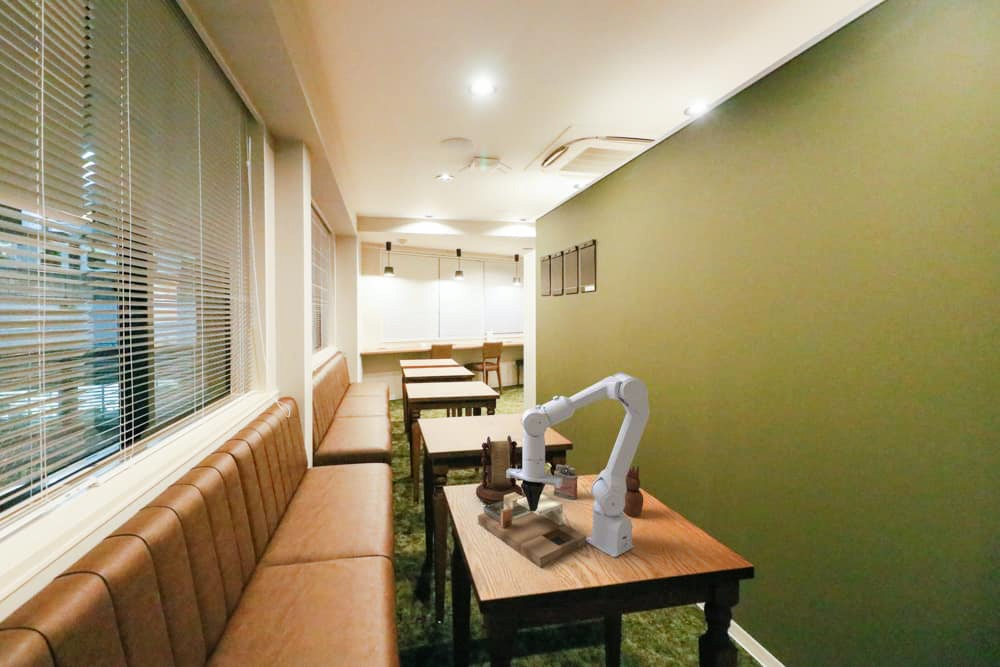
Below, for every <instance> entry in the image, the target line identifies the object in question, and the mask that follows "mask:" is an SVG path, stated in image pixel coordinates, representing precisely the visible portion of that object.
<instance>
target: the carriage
mask: <svg viewBox="0 0 1000 667" xmlns="http://www.w3.org/2000/svg"><path fill="white" fill-rule="evenodd" d="M501 507H504V500H502V501H499V502H496V503H491V504H488V505H485V506H483V513H486V514H488V515H489V516H491V517H492V518H494V519H495V520H497V521H498V522H500V523H501V527H506V526H509V525H511V524H512V515H515V514H517V513H520V512H523V511H525V510H526V508H525V507H523V506H522V505H520V506H518V507H515V508H512V509H510V508H509V509H506V510H503V511H501V513H497V512H496V511H494V510H495V509H498V508H501Z"/></svg>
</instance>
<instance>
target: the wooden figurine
mask: <svg viewBox="0 0 1000 667" xmlns="http://www.w3.org/2000/svg"><path fill="white" fill-rule="evenodd" d="M639 473H640V466H639V465H637V467H636V469H635V466H634V465H633V466H632V468H629V471H628V474H627V476H626V488H627V492H626V494H625V508H624V510H623V511H622V512H623V514H624V515H627V516H629V517H631V518H632V517H638V516H640V515H641V513H642V511H643V507H644V495H643V493H642V492H641V490H640V487H641V479H640V478H639V476H640V474H639Z"/></svg>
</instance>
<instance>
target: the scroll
mask: <svg viewBox="0 0 1000 667" xmlns="http://www.w3.org/2000/svg"><path fill="white" fill-rule="evenodd" d="M490 437H491V436H488V437H487V439H486V442H483V443H481V448H482V455H481V456H482V458H481V464H482V467H481V468H482V472H481V479H482V482H481V483H480V484H479V485H477V487H476V489H475V494H476V497H477V498H478V499H479V500H481V501H483V502H485V503H484V504H485V506H487V505H490V504H489V503H491V504H493V503H496V502H499V501H502V500H504V495H508V494H511V493H514V492H515V493H517V494H519V495H521V496H522V497H523V490H522V488H521V485H519V484H517V479H516V478H507V474H506V471H507V470H508V469H509V468H512V469H517V466H516V464H517V461H518V457H517V451H516V449H517V446H518V443H517V441H515V440H513V441H512V437H511V435H508V436H507V440H494V441H491V438H490ZM488 455H489V456H490V458H489V457H488ZM488 463H491V465H490V464H488ZM511 464H512V465H511Z"/></svg>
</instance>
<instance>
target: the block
mask: <svg viewBox="0 0 1000 667" xmlns="http://www.w3.org/2000/svg"><path fill="white" fill-rule="evenodd" d="M521 498H524V496H523V495H522V496H521V495H519V494H517V493H515V492H514V493H511V494H508V495H504V510H506V509H509V508H510V509H512V508H515V507H518V506H520V504H518V503H517V500H518V499H521Z"/></svg>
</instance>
